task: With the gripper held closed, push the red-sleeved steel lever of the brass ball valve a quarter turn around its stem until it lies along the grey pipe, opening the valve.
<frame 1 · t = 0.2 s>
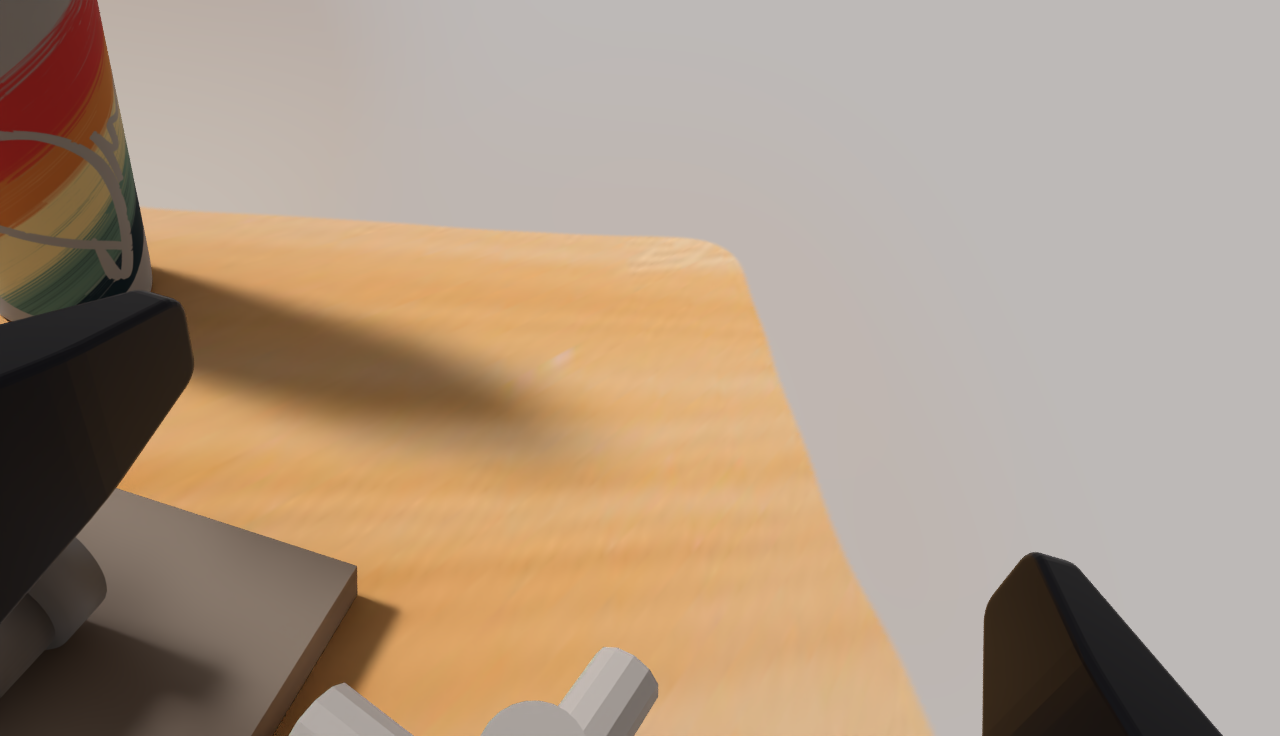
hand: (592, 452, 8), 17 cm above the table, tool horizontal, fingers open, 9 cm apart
lotion bottle: (76, 295, 33), on the table
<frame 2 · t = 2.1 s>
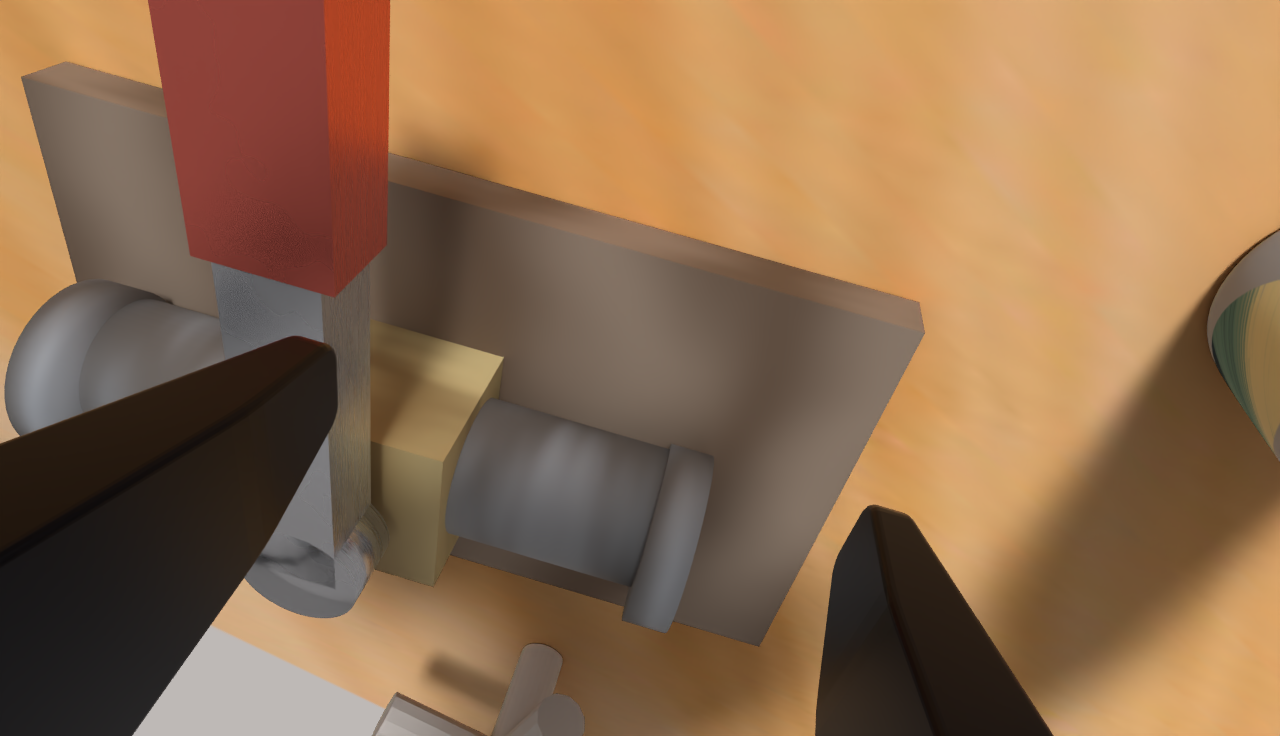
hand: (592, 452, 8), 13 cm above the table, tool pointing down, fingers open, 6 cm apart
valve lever: (301, 358, 16), point 8 cm above the table, hinge at 0.0°
valve mount: (437, 370, 25), on the table
pipe connector: (543, 652, 34), on the table
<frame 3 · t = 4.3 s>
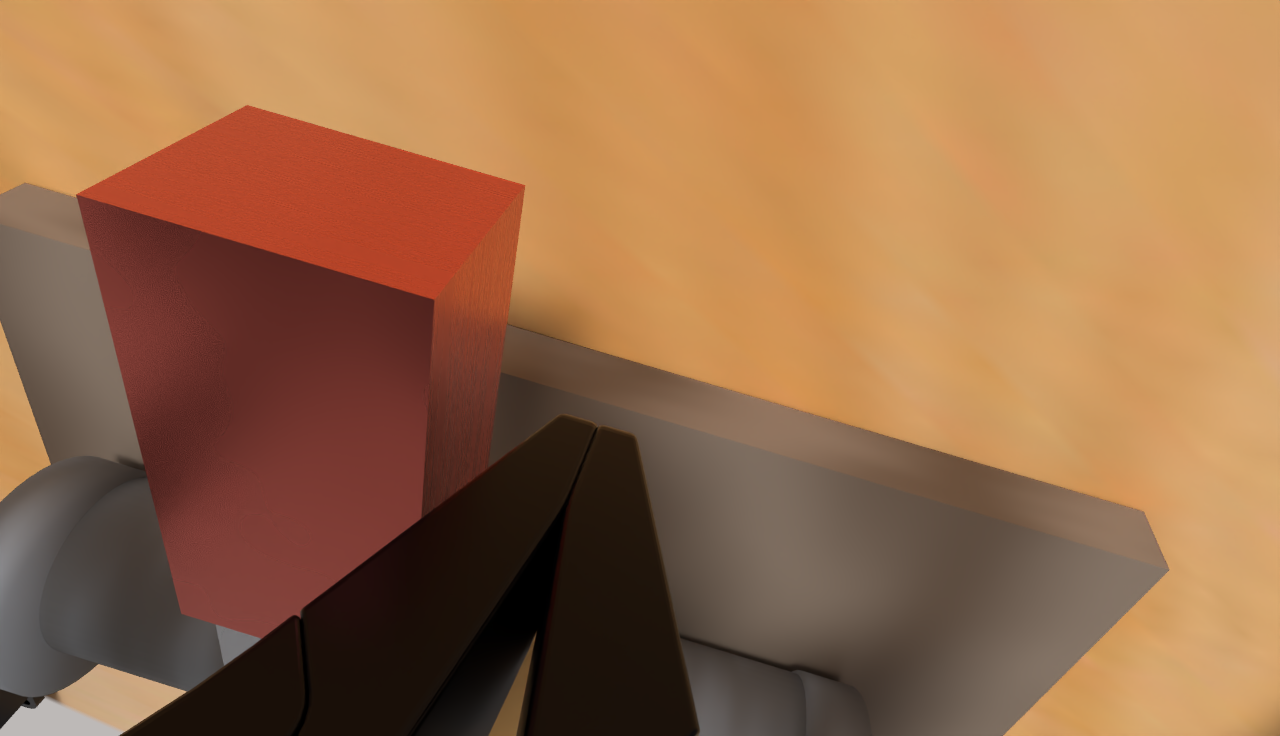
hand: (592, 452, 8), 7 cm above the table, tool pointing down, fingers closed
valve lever: (345, 687, 11), point 8 cm above the table, hinge at 0.0°, touching gripper
valve mount: (493, 545, 20), on the table
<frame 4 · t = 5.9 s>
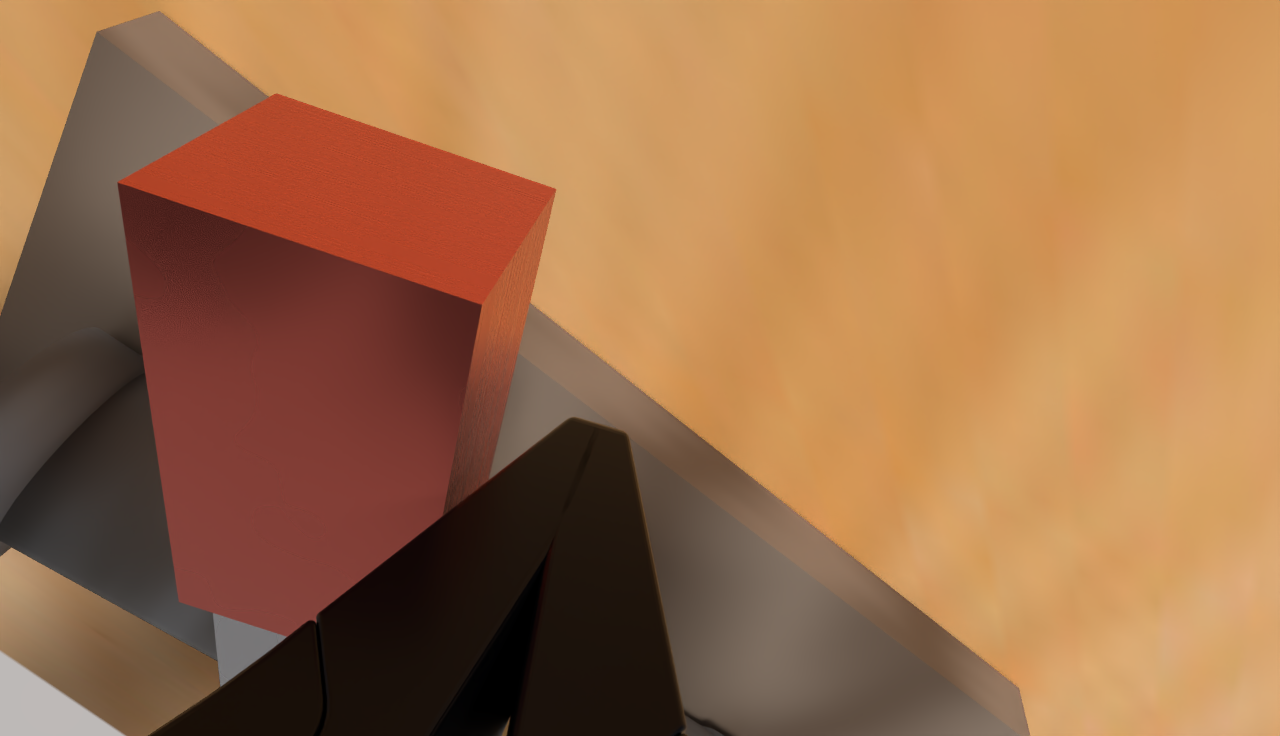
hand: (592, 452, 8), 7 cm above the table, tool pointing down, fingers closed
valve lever: (333, 676, 11), point 8 cm above the table, hinge at 24.4°, touching gripper
valve mount: (466, 533, 20), on the table
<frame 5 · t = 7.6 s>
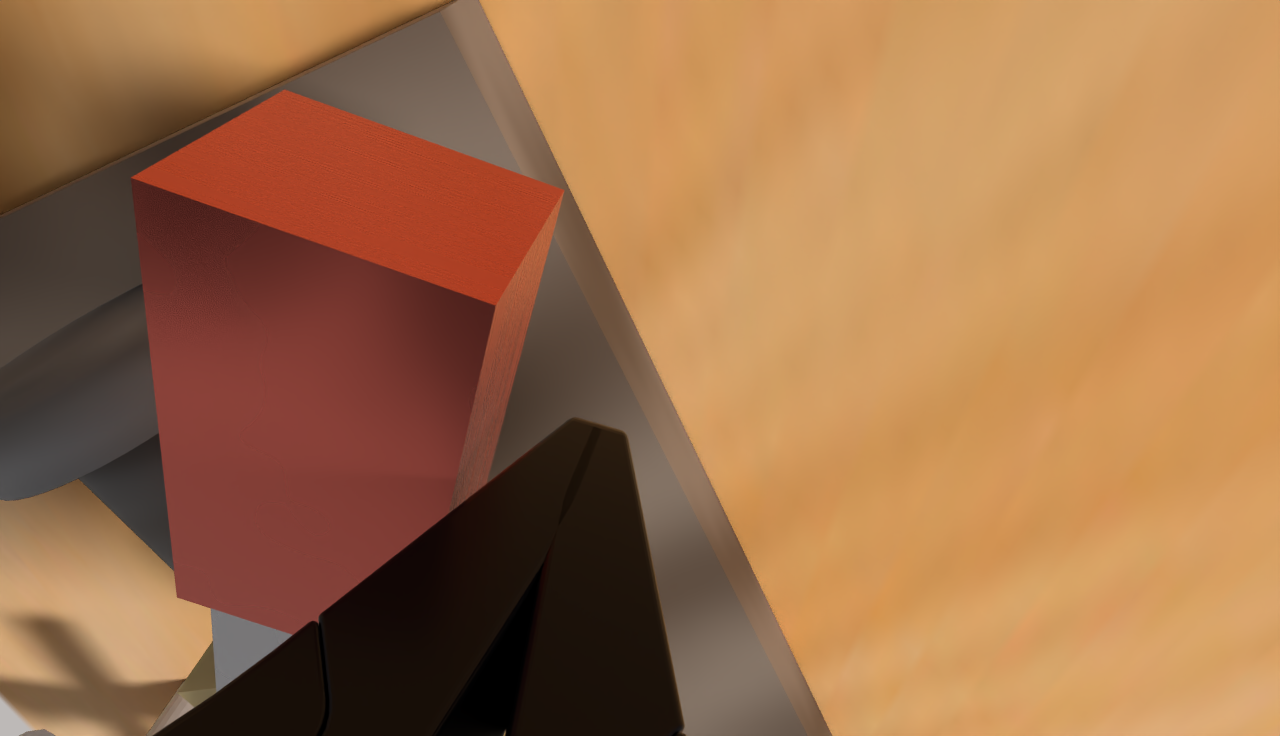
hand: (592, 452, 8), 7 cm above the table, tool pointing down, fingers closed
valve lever: (327, 672, 11), point 8 cm above the table, hinge at 49.9°, touching gripper
valve mount: (456, 529, 20), on the table
pipe connector: (209, 689, 28), on the table
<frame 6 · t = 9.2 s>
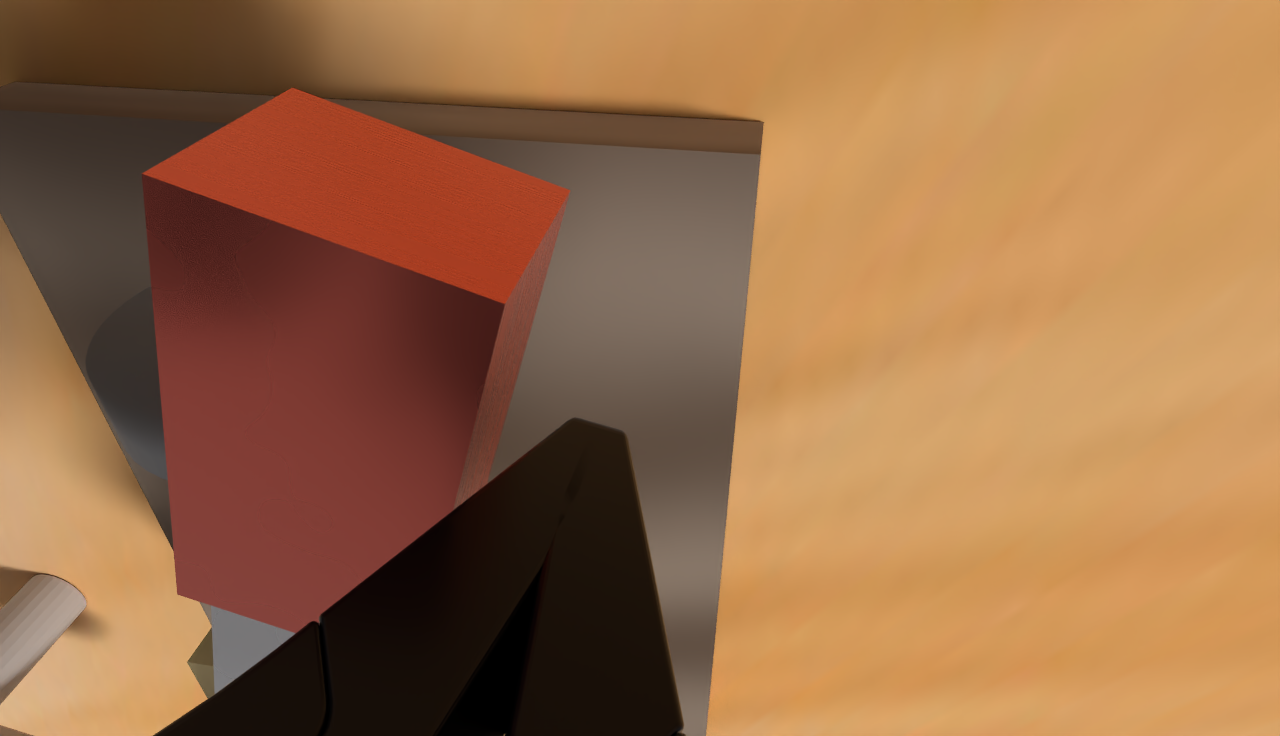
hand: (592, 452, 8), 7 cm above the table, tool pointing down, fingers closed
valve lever: (325, 670, 11), point 8 cm above the table, hinge at 72.3°, touching gripper
valve mount: (451, 529, 20), on the table
pipe connector: (63, 588, 25), on the table
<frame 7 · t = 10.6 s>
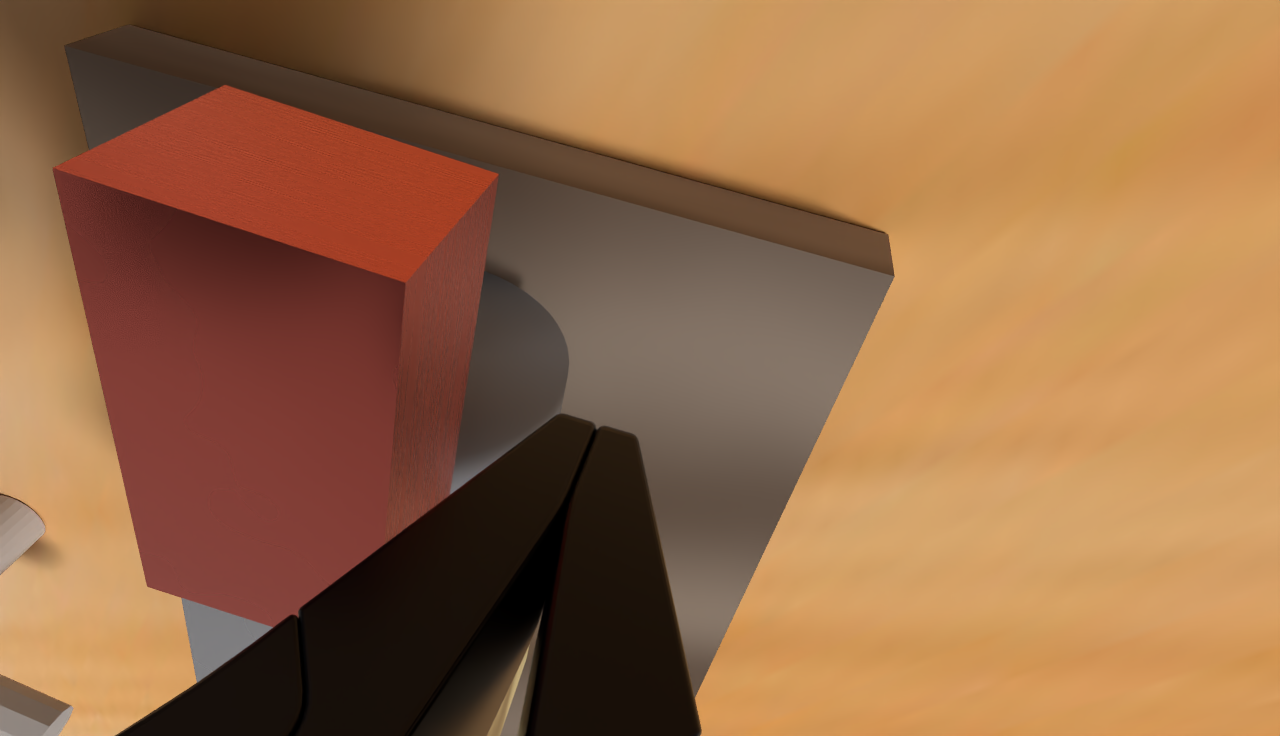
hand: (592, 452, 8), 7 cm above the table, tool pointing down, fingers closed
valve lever: (310, 663, 11), point 8 cm above the table, hinge at 87.3°
valve mount: (462, 529, 21), on the table
pipe connector: (21, 511, 24), on the table
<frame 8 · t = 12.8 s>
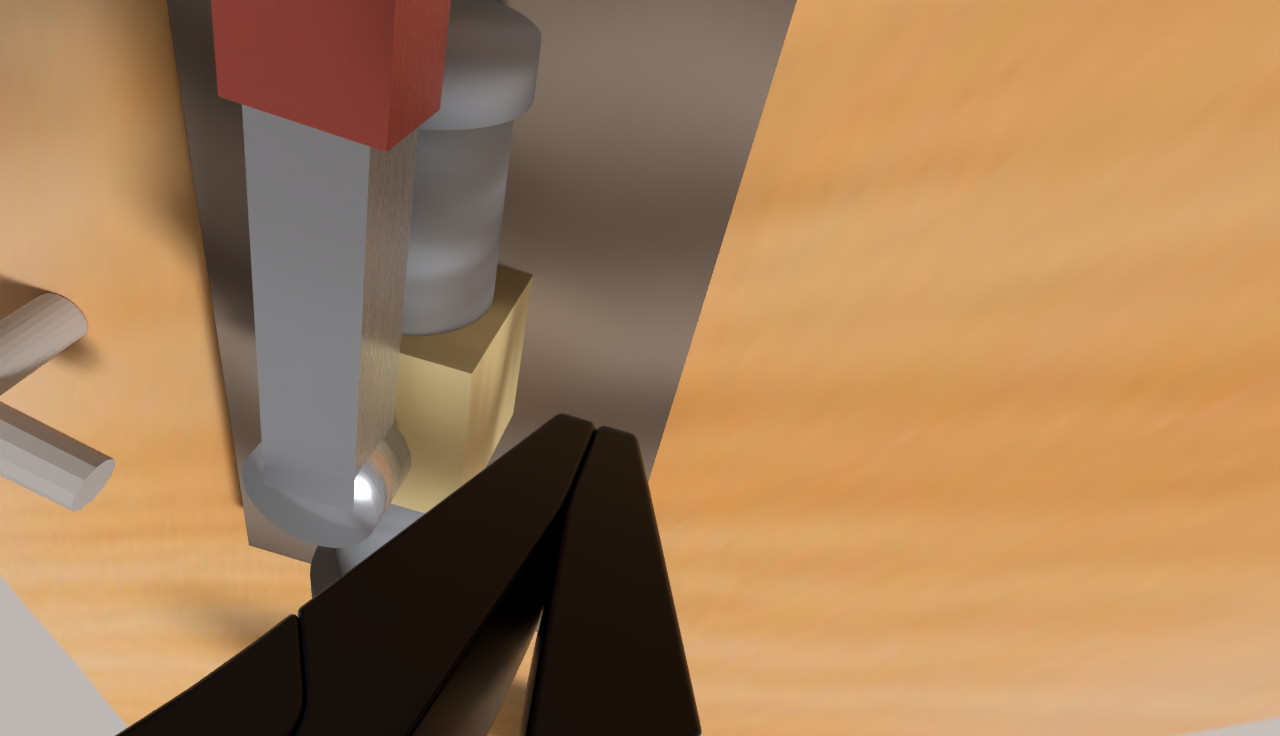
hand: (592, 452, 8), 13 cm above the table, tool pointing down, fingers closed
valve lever: (333, 239, 14), point 8 cm above the table, hinge at 87.3°
valve mount: (458, 298, 24), on the table
pipe connector: (66, 312, 27), on the table
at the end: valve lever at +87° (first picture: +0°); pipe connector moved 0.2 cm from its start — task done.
